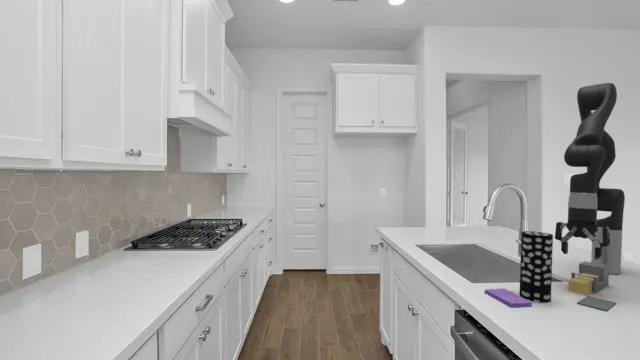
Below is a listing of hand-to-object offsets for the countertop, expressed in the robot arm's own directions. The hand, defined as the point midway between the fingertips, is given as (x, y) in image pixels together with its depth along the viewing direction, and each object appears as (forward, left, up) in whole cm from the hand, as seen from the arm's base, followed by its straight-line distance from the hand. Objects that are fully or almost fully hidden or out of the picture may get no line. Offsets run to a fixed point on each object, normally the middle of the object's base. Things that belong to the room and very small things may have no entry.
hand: (580, 256), depth 113 cm
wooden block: (-3, 0, -12) cm, 13 cm away
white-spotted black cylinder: (+18, -6, -12) cm, 22 cm away
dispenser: (-10, 0, -12) cm, 16 cm away
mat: (+8, +7, -12) cm, 16 cm away
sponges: (+26, -11, -13) cm, 31 cm away
